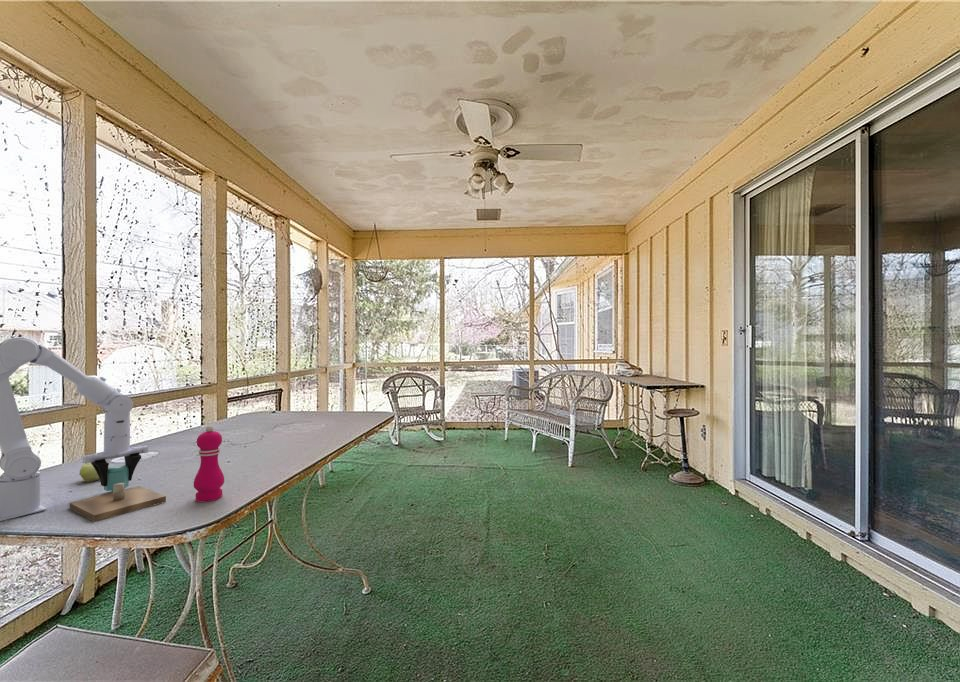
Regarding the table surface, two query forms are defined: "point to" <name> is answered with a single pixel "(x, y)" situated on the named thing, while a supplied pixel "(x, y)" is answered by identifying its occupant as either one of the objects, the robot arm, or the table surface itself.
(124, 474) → the cap
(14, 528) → the table surface
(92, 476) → the lemon
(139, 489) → the peg board
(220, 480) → the pepper mill
